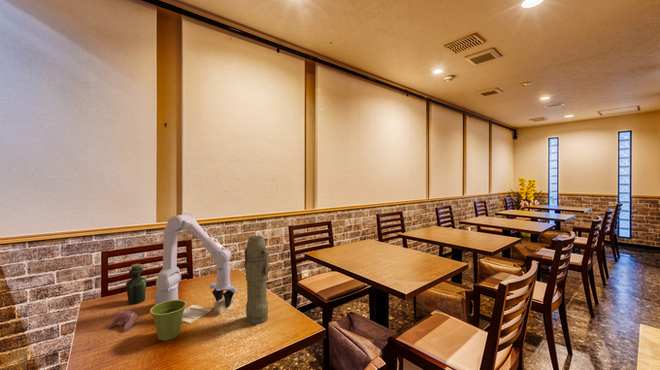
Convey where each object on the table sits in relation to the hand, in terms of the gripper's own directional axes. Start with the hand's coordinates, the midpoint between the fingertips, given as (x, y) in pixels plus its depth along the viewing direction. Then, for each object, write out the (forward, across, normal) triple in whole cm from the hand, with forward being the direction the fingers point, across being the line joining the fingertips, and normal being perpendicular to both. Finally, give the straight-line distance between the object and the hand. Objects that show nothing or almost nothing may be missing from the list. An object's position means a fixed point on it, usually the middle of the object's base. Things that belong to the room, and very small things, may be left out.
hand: (223, 305), depth 124 cm
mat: (+1, -10, -9) cm, 14 cm away
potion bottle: (+2, -45, -10) cm, 46 cm away
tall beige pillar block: (+2, 0, 0) cm, 2 cm away
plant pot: (+2, -4, -24) cm, 25 cm away
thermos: (+2, +20, -2) cm, 20 cm away
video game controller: (+2, -27, -26) cm, 38 cm away
